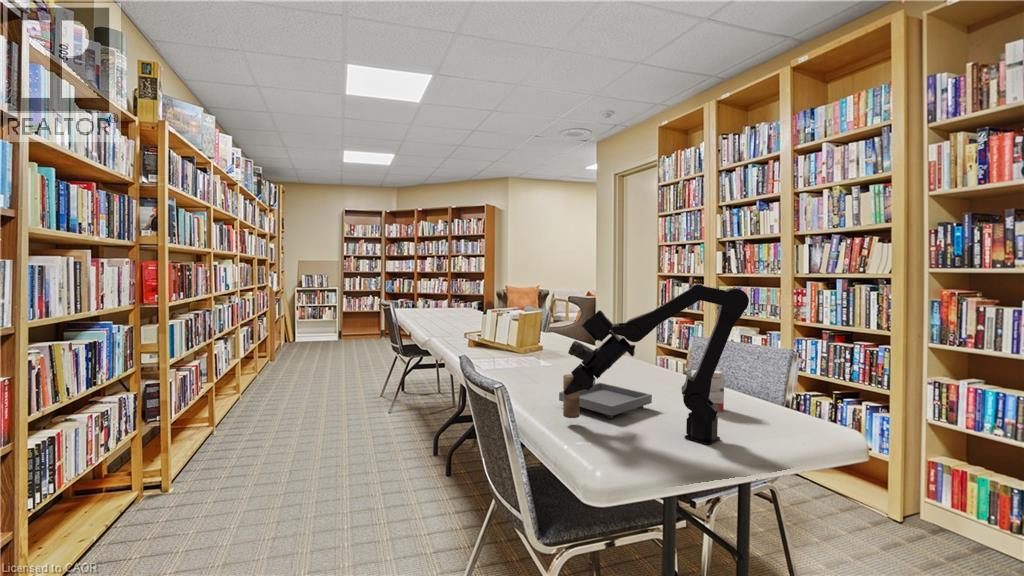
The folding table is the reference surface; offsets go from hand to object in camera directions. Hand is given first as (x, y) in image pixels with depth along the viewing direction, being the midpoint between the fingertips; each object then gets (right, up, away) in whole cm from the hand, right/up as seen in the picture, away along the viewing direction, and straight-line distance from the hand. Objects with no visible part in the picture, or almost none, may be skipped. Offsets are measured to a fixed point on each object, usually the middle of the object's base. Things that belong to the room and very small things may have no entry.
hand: (566, 391), depth 133 cm
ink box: (+45, -9, +15) cm, 48 cm away
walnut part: (+1, -7, 0) cm, 7 cm away
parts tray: (+14, -8, +16) cm, 23 cm away
